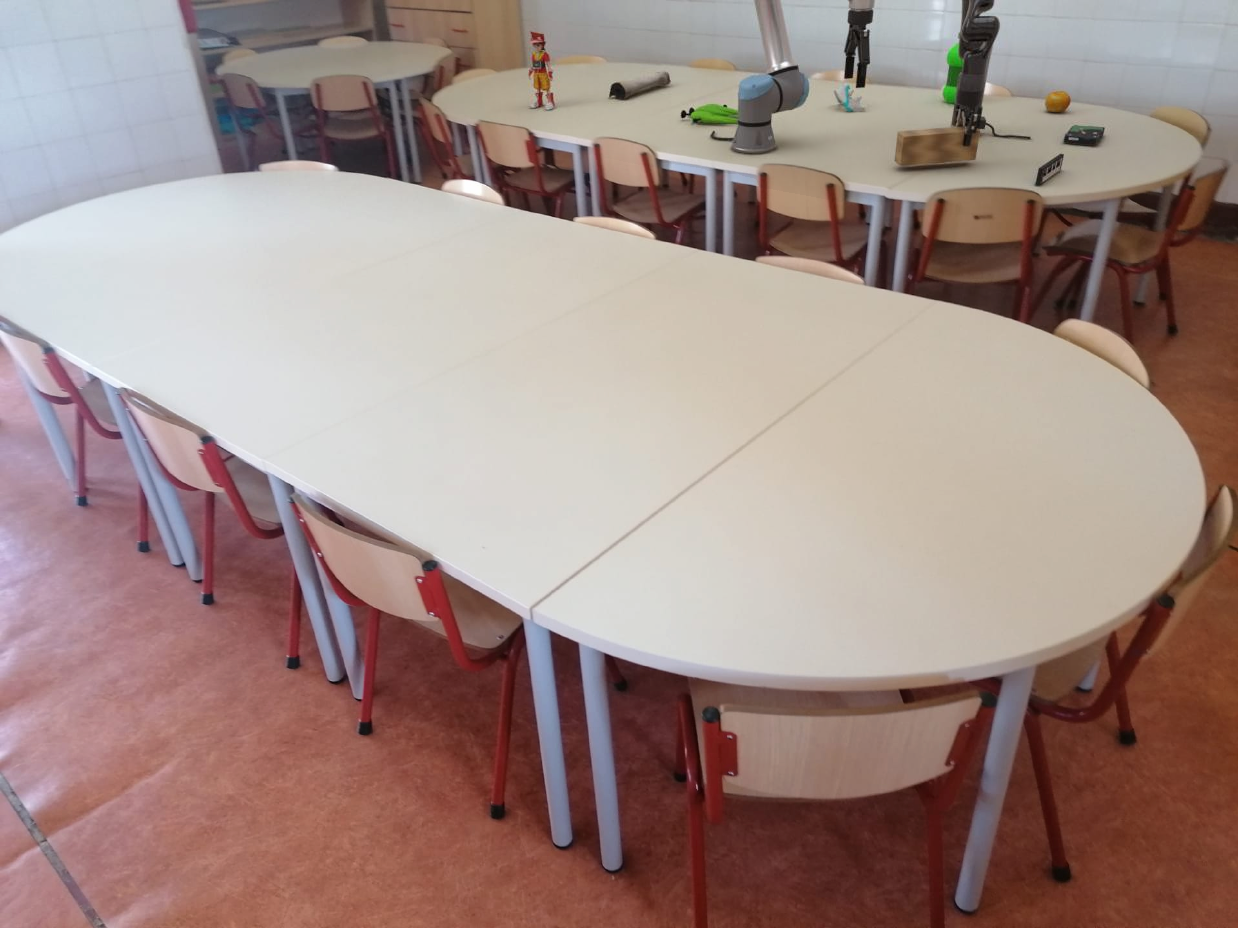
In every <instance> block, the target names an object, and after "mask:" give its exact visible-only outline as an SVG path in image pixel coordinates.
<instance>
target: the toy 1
mask: <svg viewBox="0 0 1238 928" xmlns="http://www.w3.org/2000/svg"><path fill="white" fill-rule="evenodd" d="M529 33H530V35H531V36H528V37H527V38H528V39H529V40H528V41H527V43H529V44H530V43H531V44H532V48H533V50H534V51H533V52H532V55H531V58H530V59H531V63H530V66H528V74H527V75H528V76H527V77H528V79H529V80H531V75H532V74H533V84H532V85H533V86H532V87H533V88H534V89H535V90H536V92H534V95H535V97H536V100H535V101H533V102H531V105H530V108H531V109H535V108H538V107H542V106H544V101H543V100H544V99H543V95H544V92H546V94H545V97H546V99H547V103H546V104H545V106H544V110H546V111H549V110H553V109H554V107H555V106H556V105H555V99H554V92H551V91H550V90H551V86H552V84H551V82H552V81H553V80H554V77H553V73H554V71H555V70H554V69H552V68H551V63H550V61H551V59H550V58H551V57H550V54H549V53H548V52H547V50H546V48H545V46H546V44H547V41H545V35H544V33H543V32H542V33H539V32H535V31H529Z"/></svg>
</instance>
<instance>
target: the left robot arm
mask: <svg viewBox="0 0 1238 928" xmlns="http://www.w3.org/2000/svg"><path fill="white" fill-rule="evenodd" d="M847 1H848V9H849V10H848V11H847V20H846V21H847V24H849V26H848V32H847V35H846V36H847V37H846V41H845V45H844V50H843V53H844V54H845V63H844V75H843V79H844V80H849V79H854V72H855V71H854V69H855V60H856V57H855V56H857V58H858V62H857V63H856V66H857V69H856V70H857V71H856V80H855V88H856V89H861V88H862V89H863V88H866V81H867V72H868V65H870V64H871V51H870V32H871V31H870V29H867V25H870V24H872V23H873V20H874V8H875V2H876V0H847ZM753 2H754V7H755V11H756V17H757V21H758V27H759V31H760V36H761V41H762V46H763V51H764V55H765V62H766V65H767V70H766V72H765V73H764V74H763V73H762V74H761V73H759V74H753V75H750V76H748V77H745V78H743V79H741V81H740V82H739V85H738V92H737V110H738V115H737V119H738V123H737V126H736V129H735V132H734V136H733V137H721V136H715V134H716V131H715V130H712V132H711V134H710V138H711V139H713V140H717V141H731V142H732V143H731V149H732V151H734V152H735V153H736V152H737V153H740V154H747V155H757V154H765V153H769V152H772V151H774V150H775V149H776V137H775V134H774V130H773V127H772V118H773V117H772V115H773V114H777V113H778V114H779V113H782V112H786V111H787V112H788V111H792V110H795V109H798V108H800V107H801V106H803V105H804V104H805V103H806V101H807V98H809V93H810V82H809V78H808V76H807V75H806V74H805V73H804V72H802V71H800V69H799V65H798V64H797V63H796V62H794V61H793V57H792V52H791V46H790V42H789V41H790V40H789V36H788V31H787V27H786V22H785V17H784V10H783V6H782V1H781V0H753ZM856 50H857V51H856ZM856 52H857V53H856Z"/></svg>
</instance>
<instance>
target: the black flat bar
mask: <svg viewBox="0 0 1238 928" xmlns="http://www.w3.org/2000/svg"><path fill="white" fill-rule="evenodd" d="M1064 157H1065V153H1059V154H1058V155H1056V156H1055V157H1052V159H1051V160H1049V161H1047V162H1045V164H1042V165H1041V166H1039V167H1038V169H1037V175H1036V179H1035V186H1040V185H1042V183H1044V182H1045V181H1047V180H1048V179H1049V178H1051V177H1052V176H1054V175H1055V174H1056V173H1058V172H1060V171H1061V170H1062V165H1063V161H1064Z"/></svg>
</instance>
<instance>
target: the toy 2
mask: <svg viewBox="0 0 1238 928" xmlns="http://www.w3.org/2000/svg"><path fill="white" fill-rule="evenodd" d="M688 109H689V110H688V112H687V111H686V110H685V109H682V110H681V112H680V118H681V119H685V118H687V116H688V117H690V119H691V120H692V123H693V124H698V123H701V124H711V123H713V124H738V118H734V116H738V109H734V108H732V107H731V108H730V107H728V105H727V104H722V105H720V104H717V103H708V104H704V105H701V106H699V107H697V108H695V109H694V108H693V107H690V108H688Z"/></svg>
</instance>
